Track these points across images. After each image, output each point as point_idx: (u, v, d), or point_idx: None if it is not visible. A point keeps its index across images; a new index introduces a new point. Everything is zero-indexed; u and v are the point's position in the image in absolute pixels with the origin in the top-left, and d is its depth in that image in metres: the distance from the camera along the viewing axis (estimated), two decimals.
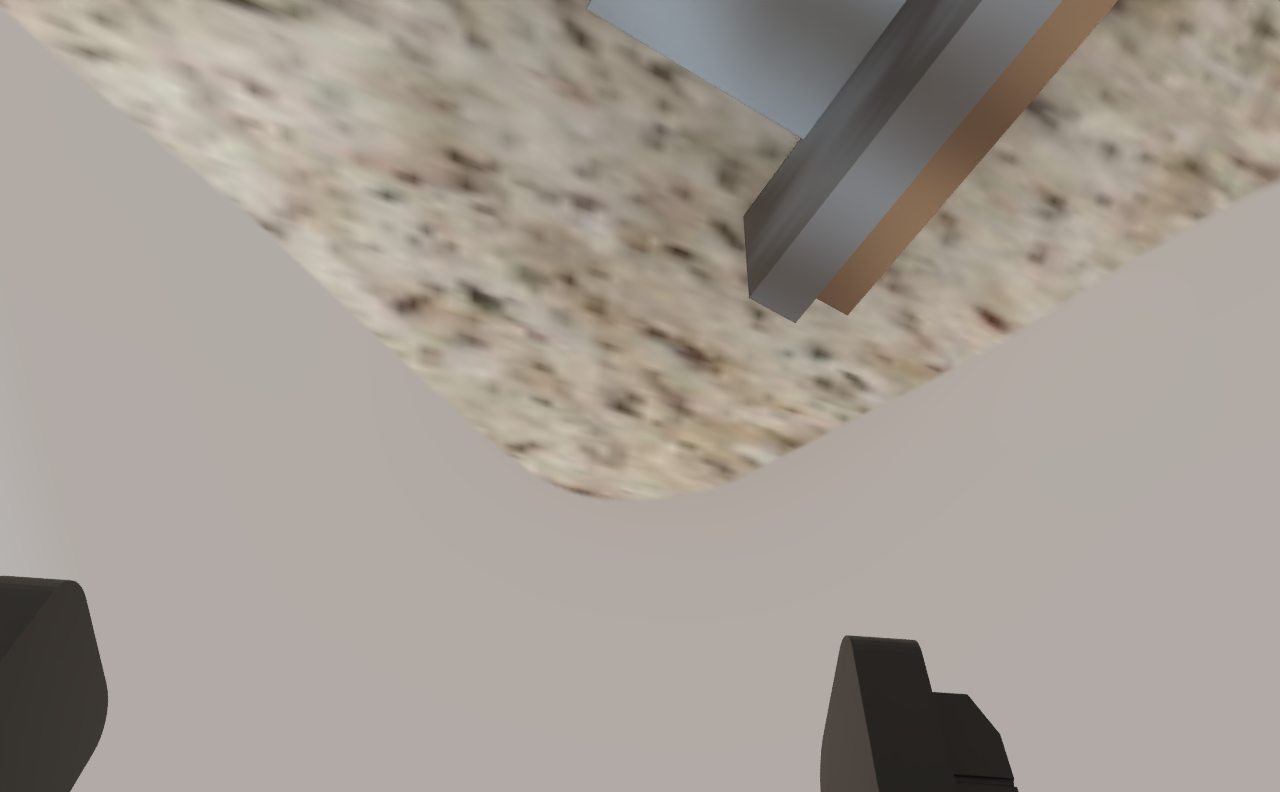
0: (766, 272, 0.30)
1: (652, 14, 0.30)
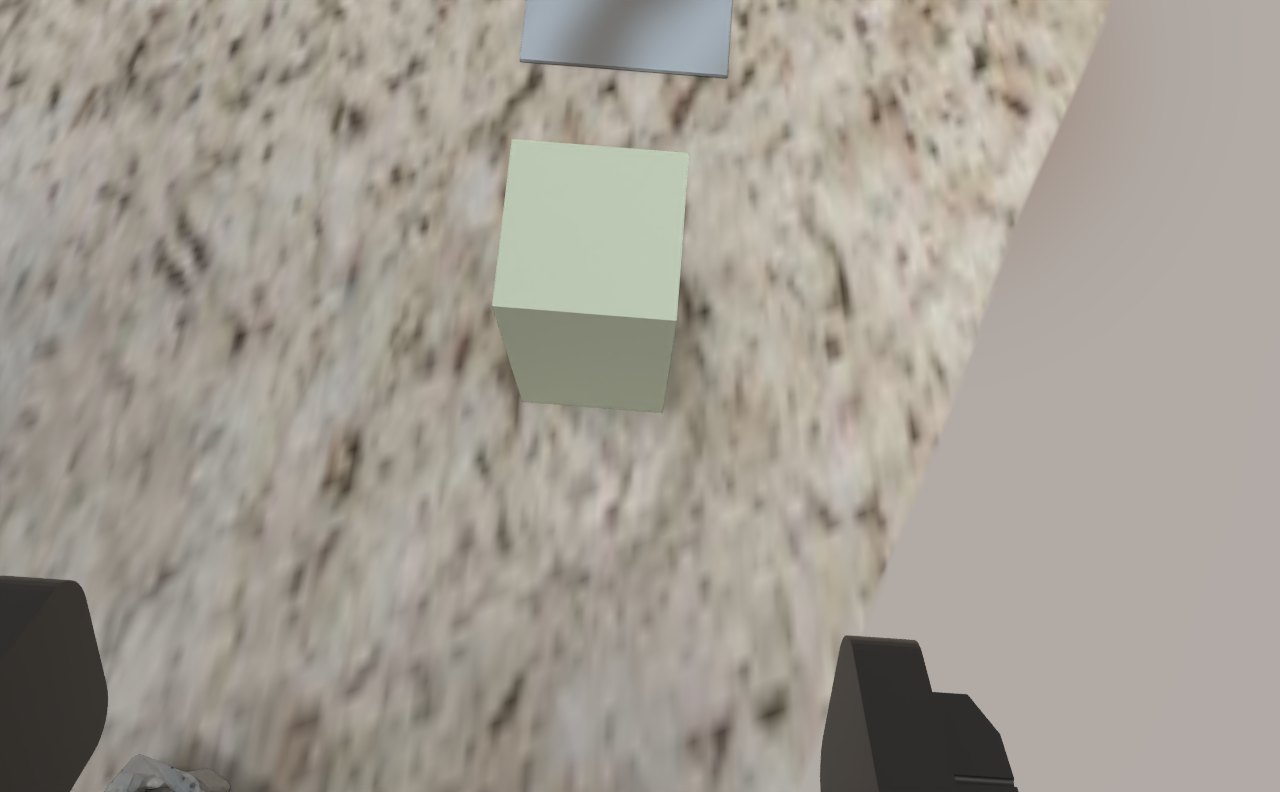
0: None
1: (709, 38, 0.44)
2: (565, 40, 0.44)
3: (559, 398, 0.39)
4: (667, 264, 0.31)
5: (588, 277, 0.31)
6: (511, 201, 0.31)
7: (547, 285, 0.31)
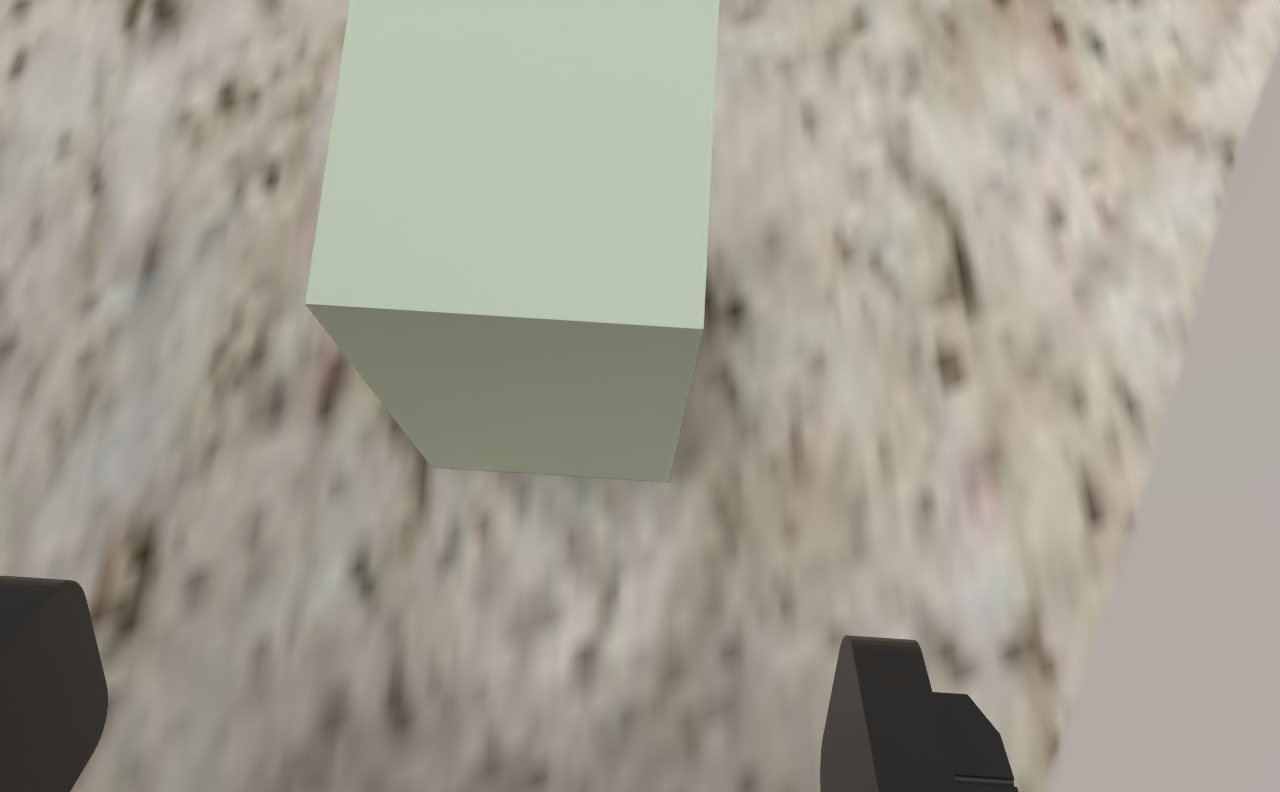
0: None
1: None
2: None
3: (492, 463, 0.23)
4: (681, 209, 0.15)
5: (512, 239, 0.14)
6: (352, 84, 0.15)
7: (424, 257, 0.14)
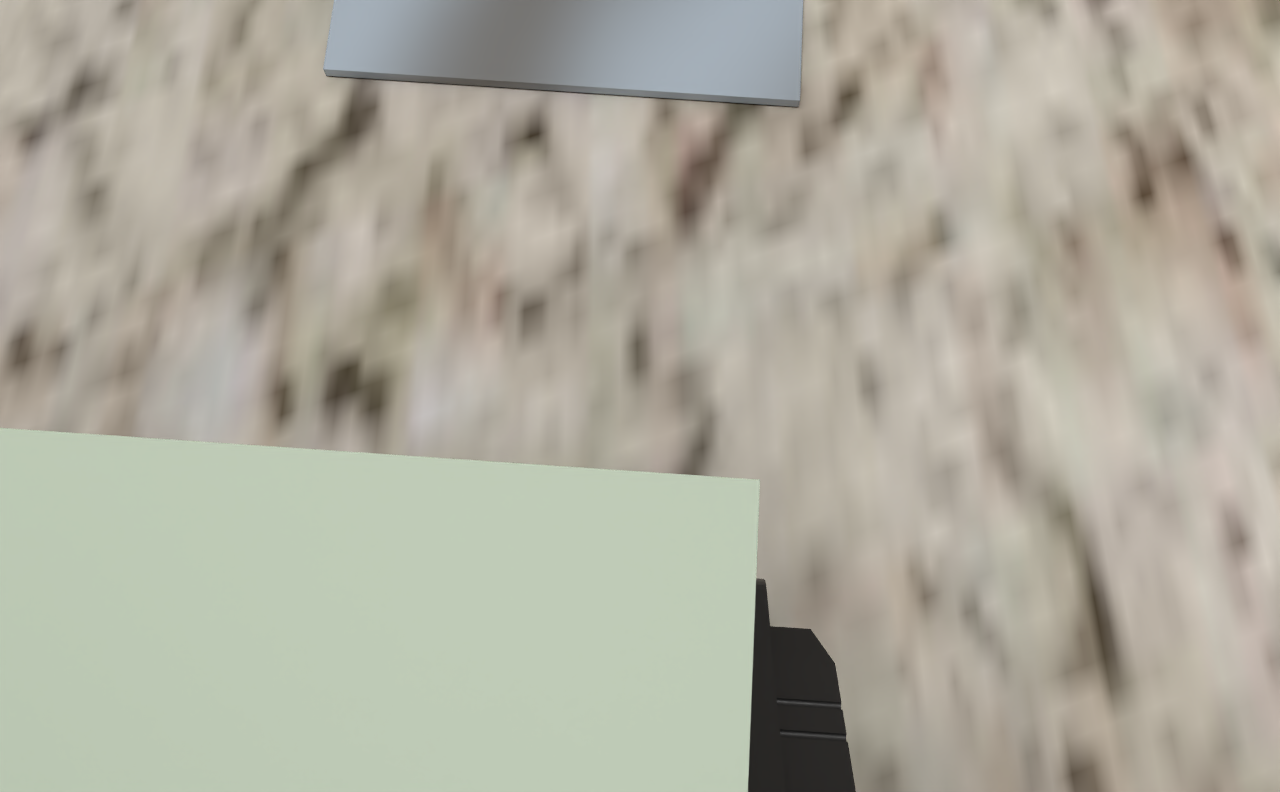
0: None
1: (756, 16, 0.19)
2: (429, 26, 0.19)
3: None
4: None
5: None
6: None
7: None
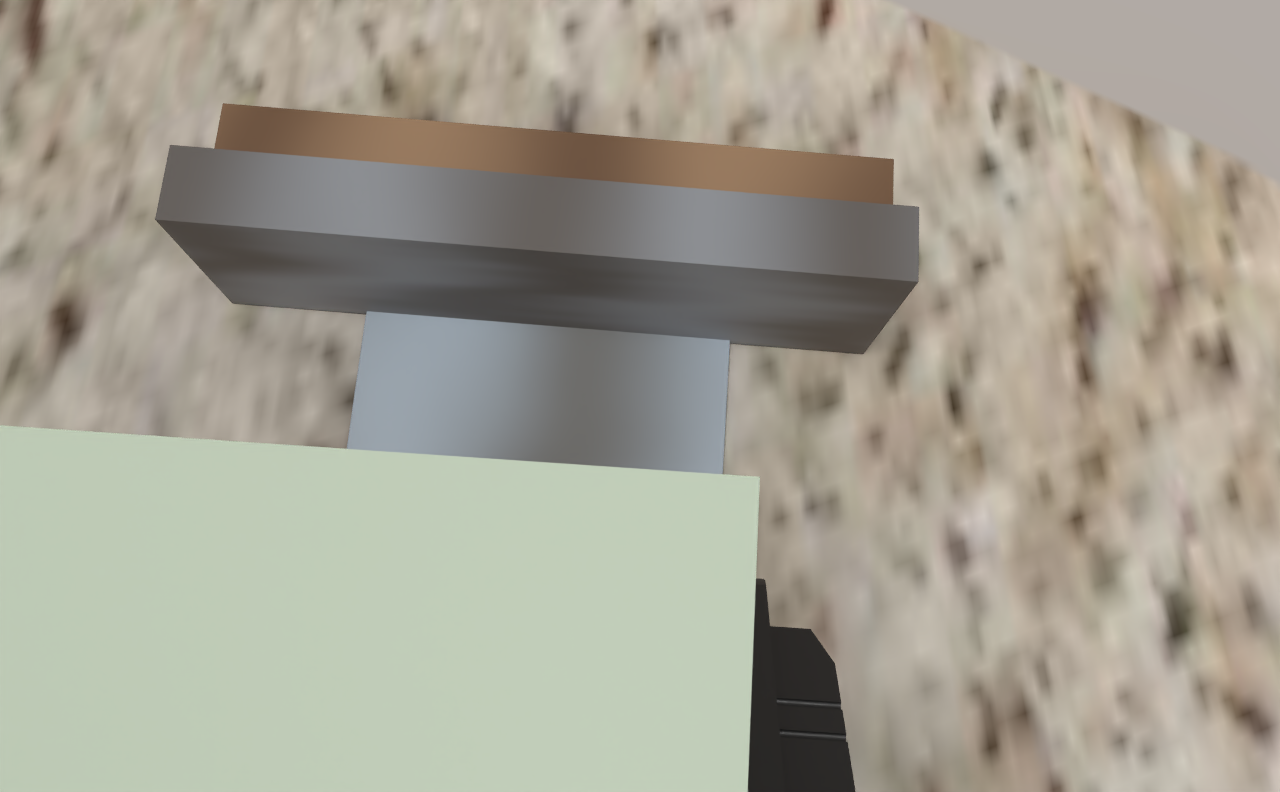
0: (872, 280, 0.21)
1: None
2: None
3: None
4: None
5: None
6: None
7: None
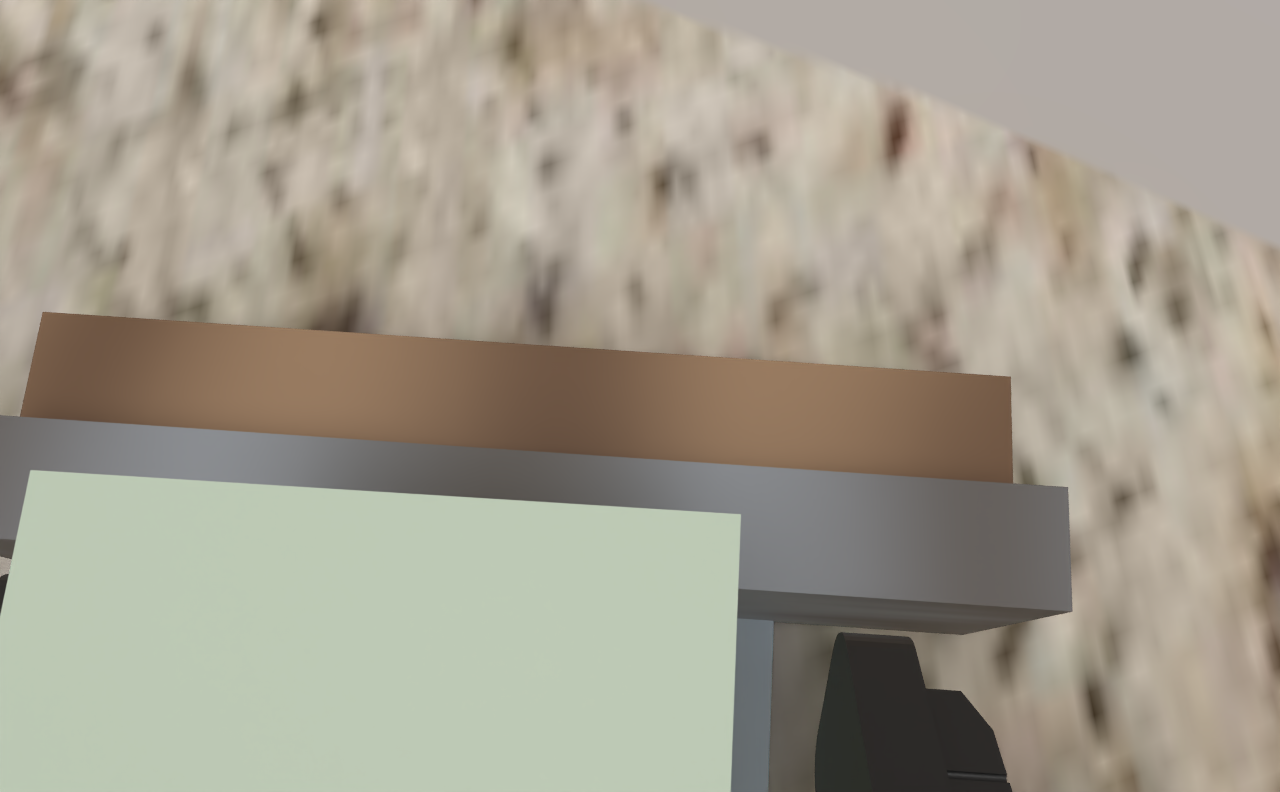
0: (999, 607, 0.14)
1: None
2: None
3: None
4: None
5: None
6: (1, 754, 0.07)
7: None
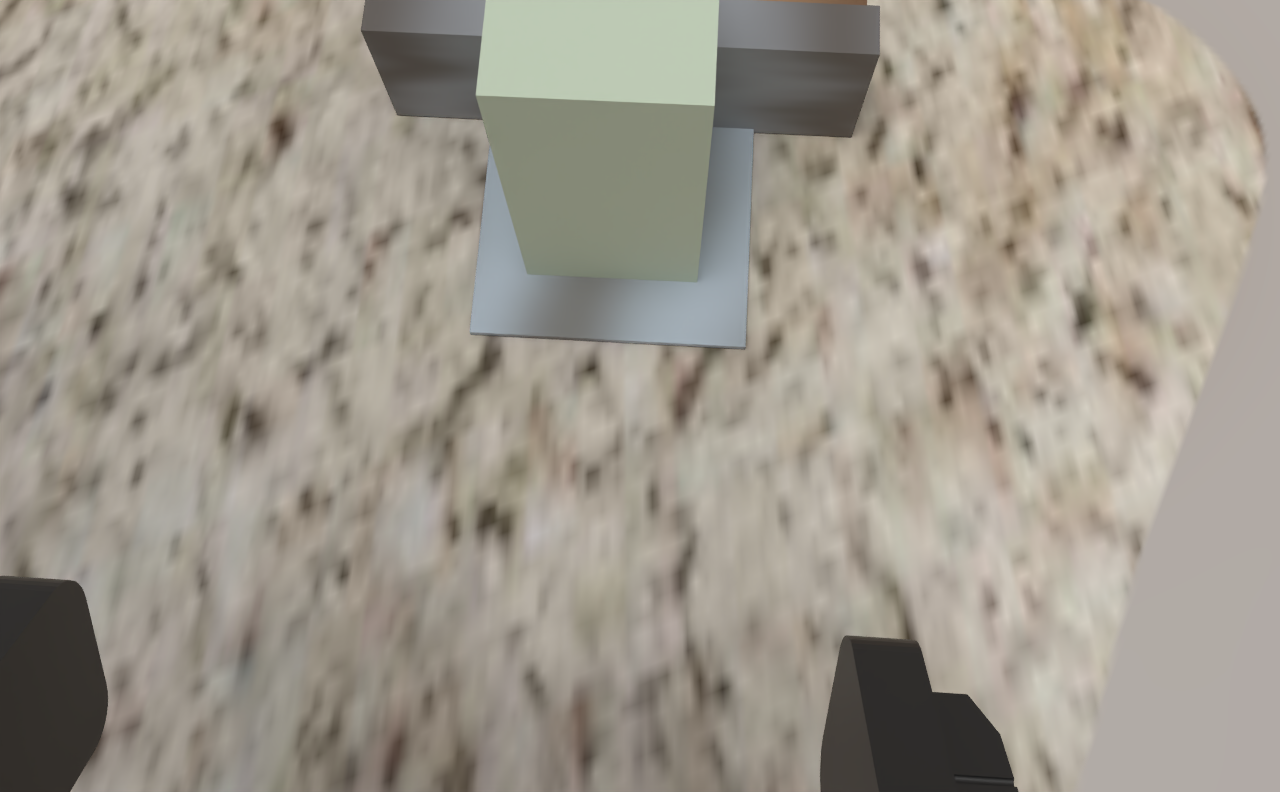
0: (848, 56, 0.30)
1: (720, 295, 0.33)
2: (529, 304, 0.33)
3: (571, 265, 0.32)
4: (700, 37, 0.24)
5: (598, 56, 0.24)
6: None
7: (545, 67, 0.24)
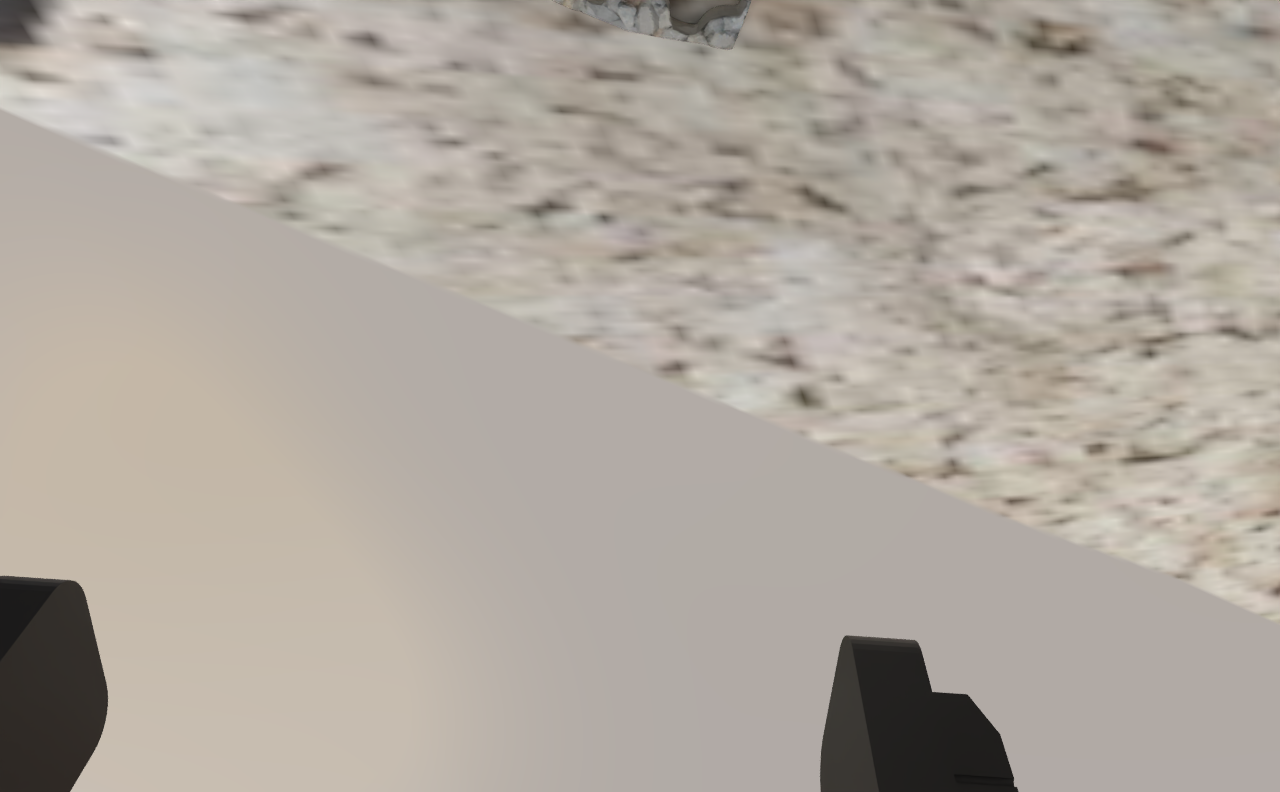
0: None
1: None
2: None
3: None
4: None
5: None
6: None
7: None
